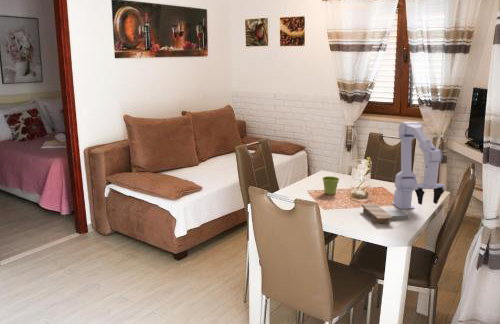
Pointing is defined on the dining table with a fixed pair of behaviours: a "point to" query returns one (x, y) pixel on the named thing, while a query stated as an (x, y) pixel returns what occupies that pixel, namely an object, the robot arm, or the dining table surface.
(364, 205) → the walnut shelf
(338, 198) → the dining table surface
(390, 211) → the grey shell
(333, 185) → the plant pot
